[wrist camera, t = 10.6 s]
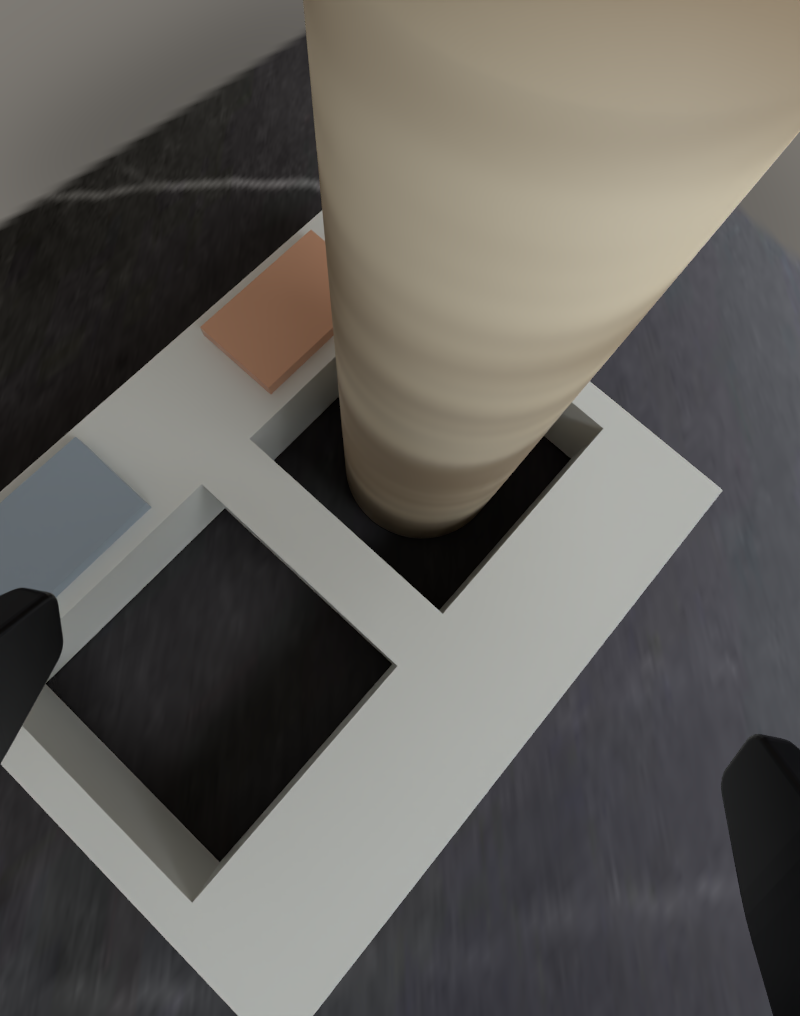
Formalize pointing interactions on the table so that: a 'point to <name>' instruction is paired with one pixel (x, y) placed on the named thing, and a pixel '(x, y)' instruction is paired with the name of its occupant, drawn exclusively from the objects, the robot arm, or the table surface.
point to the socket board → (353, 595)
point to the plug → (518, 210)
